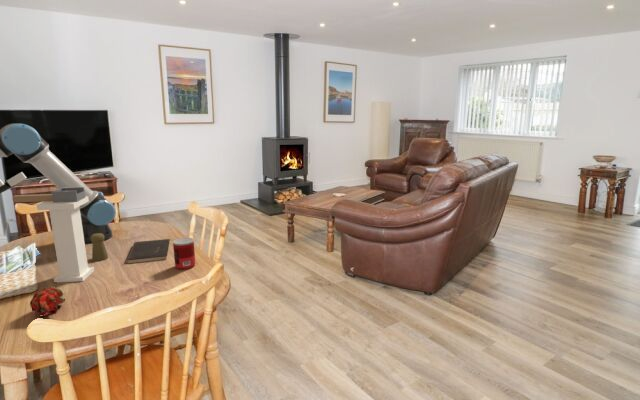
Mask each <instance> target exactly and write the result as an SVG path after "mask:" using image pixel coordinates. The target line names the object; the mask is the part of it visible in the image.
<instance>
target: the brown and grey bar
mask: <svg viewBox="0 0 640 400" xmlns="http://www.w3.org/2000/svg"><path fill="white" fill-rule="evenodd" d="M84 198H85V191H84V187H70V188H57V189H54V190H52V191H51V193H42V194H37V193H36V194H15V195H13V196H12V200H13V203H35V202H37V203H42V202H44V201H53V202H78V201H80V200H82V199H84Z"/></svg>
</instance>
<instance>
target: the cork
mask: <svg viewBox="0 0 640 400" xmlns="http://www.w3.org/2000/svg"><path fill="white" fill-rule="evenodd" d="M90 239H91V241H92V245H91V246H92V247H91V249H92V253H91V255H92V256H91V257H92V260H91V261H92V262H93V261H94V262H101V261H104V260H107V259H108V258H109V256H108V252H107V248H106V244H105V243H104V241H105V240H104V235H103V234H102V233H96V234H93V235H91V238H90Z"/></svg>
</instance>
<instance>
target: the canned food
mask: <svg viewBox="0 0 640 400" xmlns="http://www.w3.org/2000/svg"><path fill="white" fill-rule="evenodd" d="M172 245H173V248H172V249H173V258H174V267H175V269H177V270H180V271H181V270H185V271H186V270H188V269H189V270H190V269H192V268H193V267H195V266H196V255H195V254H196V253H195V240H194V238H192V237H181V238H180V237H179V238H177V239H175V240H173V244H172Z"/></svg>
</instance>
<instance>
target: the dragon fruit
mask: <svg viewBox="0 0 640 400" xmlns="http://www.w3.org/2000/svg"><path fill="white" fill-rule="evenodd" d="M63 296H64V293H63V291H62V290H61V289H60V288H57V287H55V286H50V287H48V288H46V287H43V288H42V289H41V291H40V292H35V293H34V294H33V296H32V298H31V300H30V303H29V306H30V308H31V311H32V312H34V313H35V314H36V315H38V316H39V315H43V317H46V316H49V315H51V314H52V312H54V313H57V312H59V310H60V309H61V308H62V307H63V303H65V301H66V299H65V298H63ZM43 317H42V316H39V318H40V319H42V318H43Z"/></svg>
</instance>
